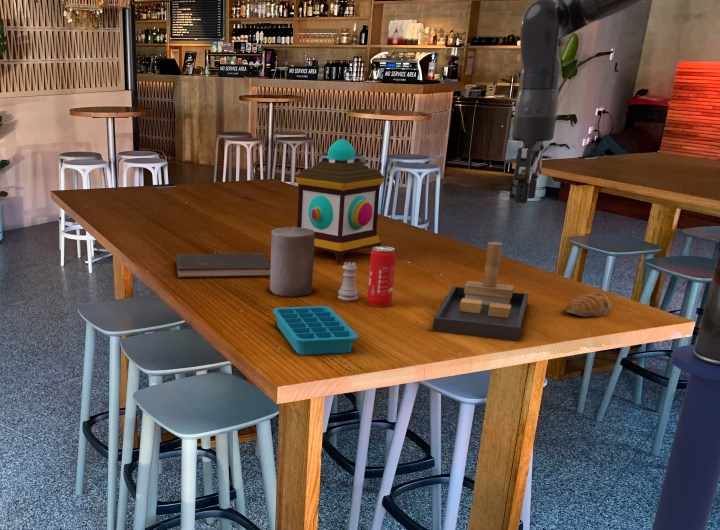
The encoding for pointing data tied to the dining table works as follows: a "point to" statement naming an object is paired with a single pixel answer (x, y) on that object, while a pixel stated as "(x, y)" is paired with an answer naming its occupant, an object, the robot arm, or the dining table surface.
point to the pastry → (589, 305)
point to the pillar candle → (292, 261)
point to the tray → (480, 318)
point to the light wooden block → (470, 305)
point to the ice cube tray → (315, 330)
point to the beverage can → (381, 276)
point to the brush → (490, 281)
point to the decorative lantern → (340, 201)
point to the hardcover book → (222, 265)
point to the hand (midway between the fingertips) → (524, 200)
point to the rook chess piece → (348, 283)
